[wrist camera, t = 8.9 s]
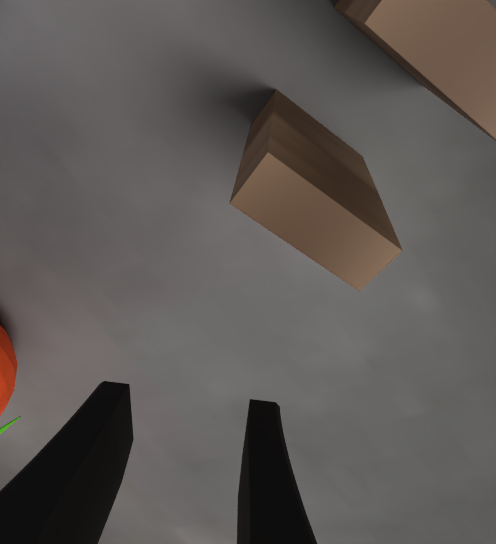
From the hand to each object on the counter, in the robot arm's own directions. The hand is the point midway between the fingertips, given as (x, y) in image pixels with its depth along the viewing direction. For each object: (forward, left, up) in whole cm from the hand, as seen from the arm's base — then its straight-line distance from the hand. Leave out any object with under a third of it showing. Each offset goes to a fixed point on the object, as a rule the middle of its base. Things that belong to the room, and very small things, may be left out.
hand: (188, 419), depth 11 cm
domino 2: (0, +10, -9) cm, 13 cm away
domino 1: (0, +5, -9) cm, 11 cm away
